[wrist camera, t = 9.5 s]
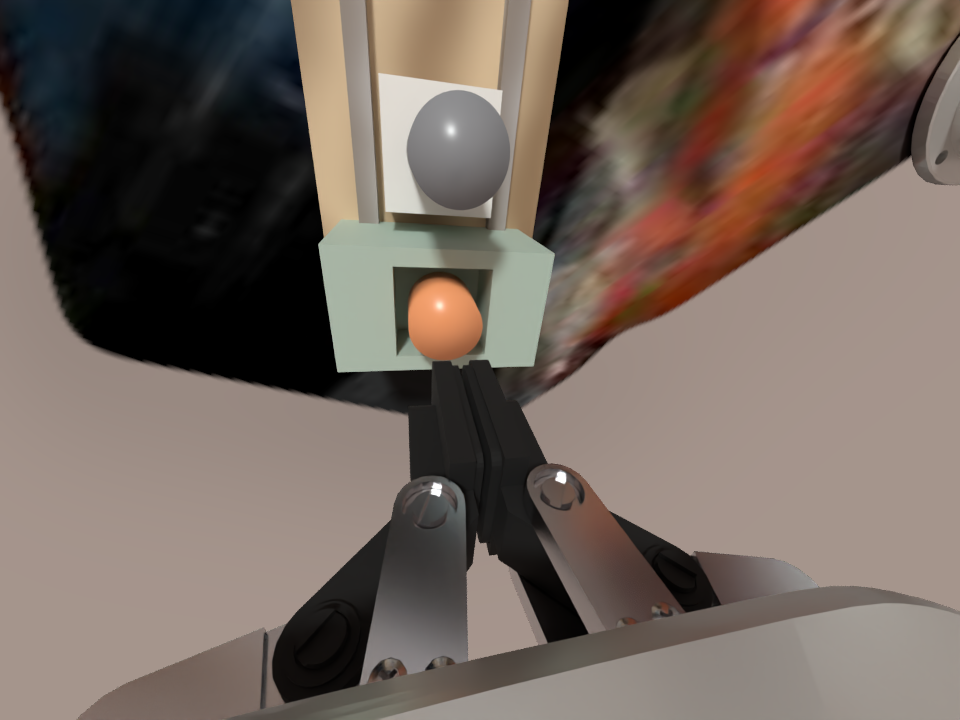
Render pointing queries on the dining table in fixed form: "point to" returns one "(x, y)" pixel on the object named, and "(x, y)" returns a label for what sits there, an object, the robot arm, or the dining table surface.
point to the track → (431, 56)
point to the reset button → (443, 317)
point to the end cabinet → (409, 256)
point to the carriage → (441, 146)
